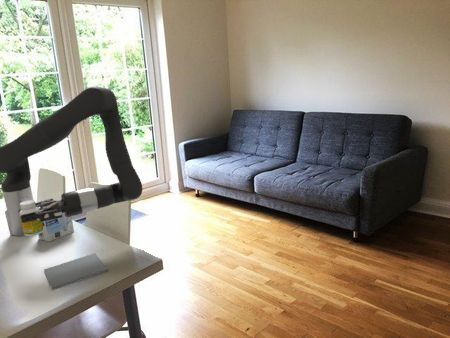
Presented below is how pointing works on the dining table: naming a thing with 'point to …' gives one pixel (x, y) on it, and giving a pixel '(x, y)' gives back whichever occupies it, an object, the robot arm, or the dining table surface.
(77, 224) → the dining table surface
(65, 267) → the placemat
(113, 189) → the robot arm
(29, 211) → the supplement bottle
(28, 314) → the dining table surface
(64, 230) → the light bulb box
